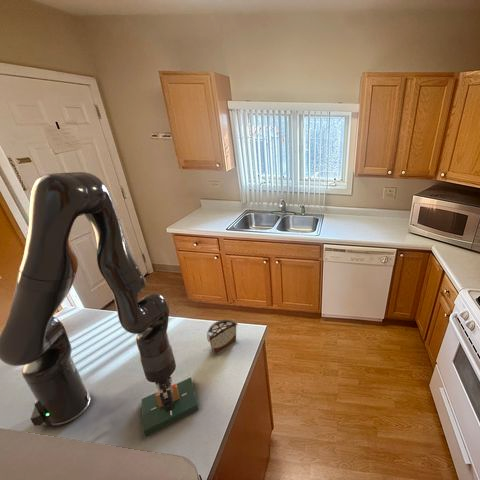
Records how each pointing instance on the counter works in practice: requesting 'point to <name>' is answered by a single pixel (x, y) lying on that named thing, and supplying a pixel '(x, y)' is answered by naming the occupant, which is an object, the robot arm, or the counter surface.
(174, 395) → the handle
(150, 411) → the panel
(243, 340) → the counter surface
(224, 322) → the cake slice
